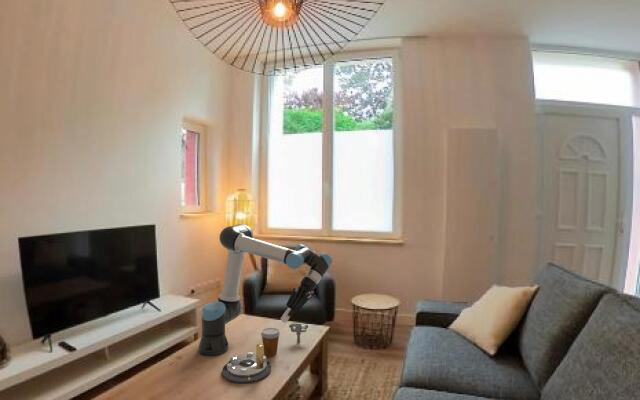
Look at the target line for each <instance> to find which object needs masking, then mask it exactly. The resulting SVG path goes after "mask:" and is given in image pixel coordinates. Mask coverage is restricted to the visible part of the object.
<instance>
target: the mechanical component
mask: <svg viewBox="0 0 640 400" xmlns="http://www.w3.org/2000/svg"><path fill="white" fill-rule="evenodd" d="M288 327H289V328H290V331H291V332H292V333H295V334H296V336H297V337H296V342H297V343H298V344H300V343H301V335H302V333H306V332H307V329H308V328H309V325H308V324H305V325H304V326H303V325H302V323H294V322H293V323H290V324H288Z"/></svg>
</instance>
